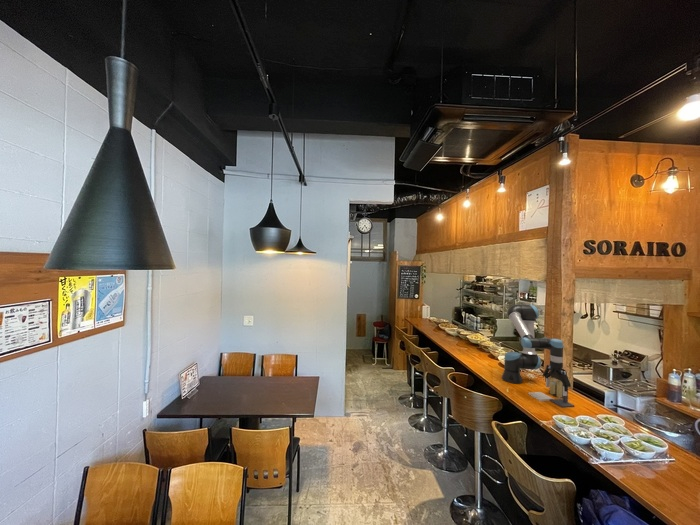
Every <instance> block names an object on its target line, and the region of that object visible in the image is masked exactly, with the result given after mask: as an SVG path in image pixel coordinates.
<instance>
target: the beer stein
mask: <svg viewBox="0 0 700 525" xmlns="http://www.w3.org/2000/svg"><path fill="white" fill-rule="evenodd" d="M549 371H551V369H550V370H549ZM562 371H566V369H564V368H562ZM560 375H561V374H560ZM550 378H556V379H558V380H560V378H559V377H558V375H555V374H552V375H551V376H550ZM560 381H561V380H560ZM548 388H549V391H548V393H549V394H550V395H551V396H552V397H553V396H554V397H557V385H555V394H551V393H550V387H548ZM557 398H558V397H557ZM559 399H563V384H562V397H559Z"/></svg>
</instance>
